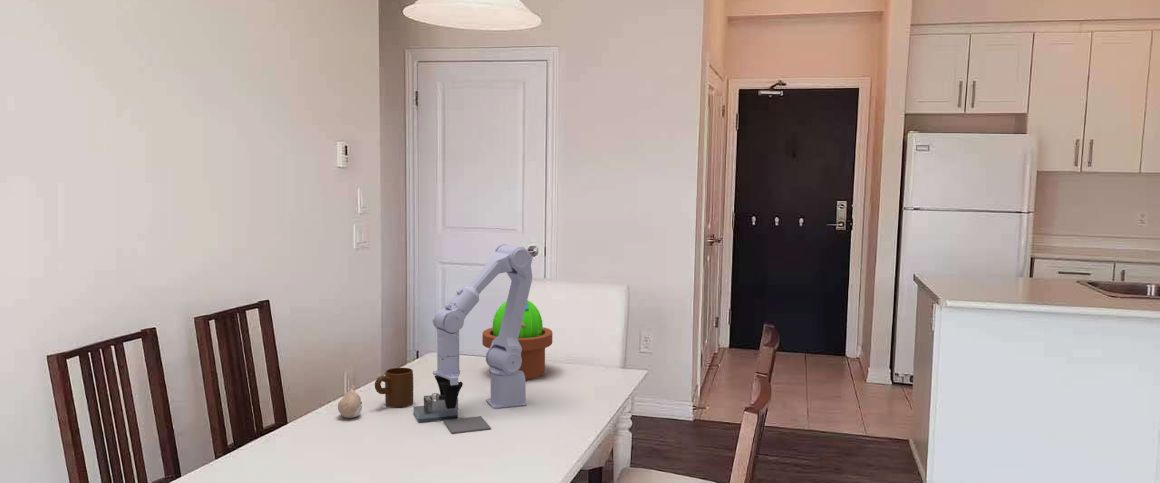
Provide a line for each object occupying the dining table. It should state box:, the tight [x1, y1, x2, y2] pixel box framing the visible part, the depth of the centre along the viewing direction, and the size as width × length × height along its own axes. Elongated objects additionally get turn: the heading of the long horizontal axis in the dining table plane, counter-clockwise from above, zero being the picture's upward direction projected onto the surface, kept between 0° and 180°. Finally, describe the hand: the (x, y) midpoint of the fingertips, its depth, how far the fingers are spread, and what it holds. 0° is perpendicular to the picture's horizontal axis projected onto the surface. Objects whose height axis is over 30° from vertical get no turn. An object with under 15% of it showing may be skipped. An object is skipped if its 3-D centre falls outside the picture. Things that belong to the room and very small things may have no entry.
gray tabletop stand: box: [423, 393, 459, 413], centre depth 209 cm, size 8×5×3 cm
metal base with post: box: [413, 392, 459, 424], centre depth 208 cm, size 10×8×6 cm
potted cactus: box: [481, 299, 553, 381], centre depth 251 cm, size 22×22×25 cm
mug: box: [374, 367, 414, 409], centre depth 217 cm, size 12×8×9 cm, turn 143°
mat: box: [442, 415, 492, 435], centre depth 201 cm, size 10×10×1 cm
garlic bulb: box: [337, 384, 363, 419], centre depth 207 cm, size 7×6×8 cm
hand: (448, 405), depth 209 cm, fingers closed on gray tabletop stand, 5 cm apart
